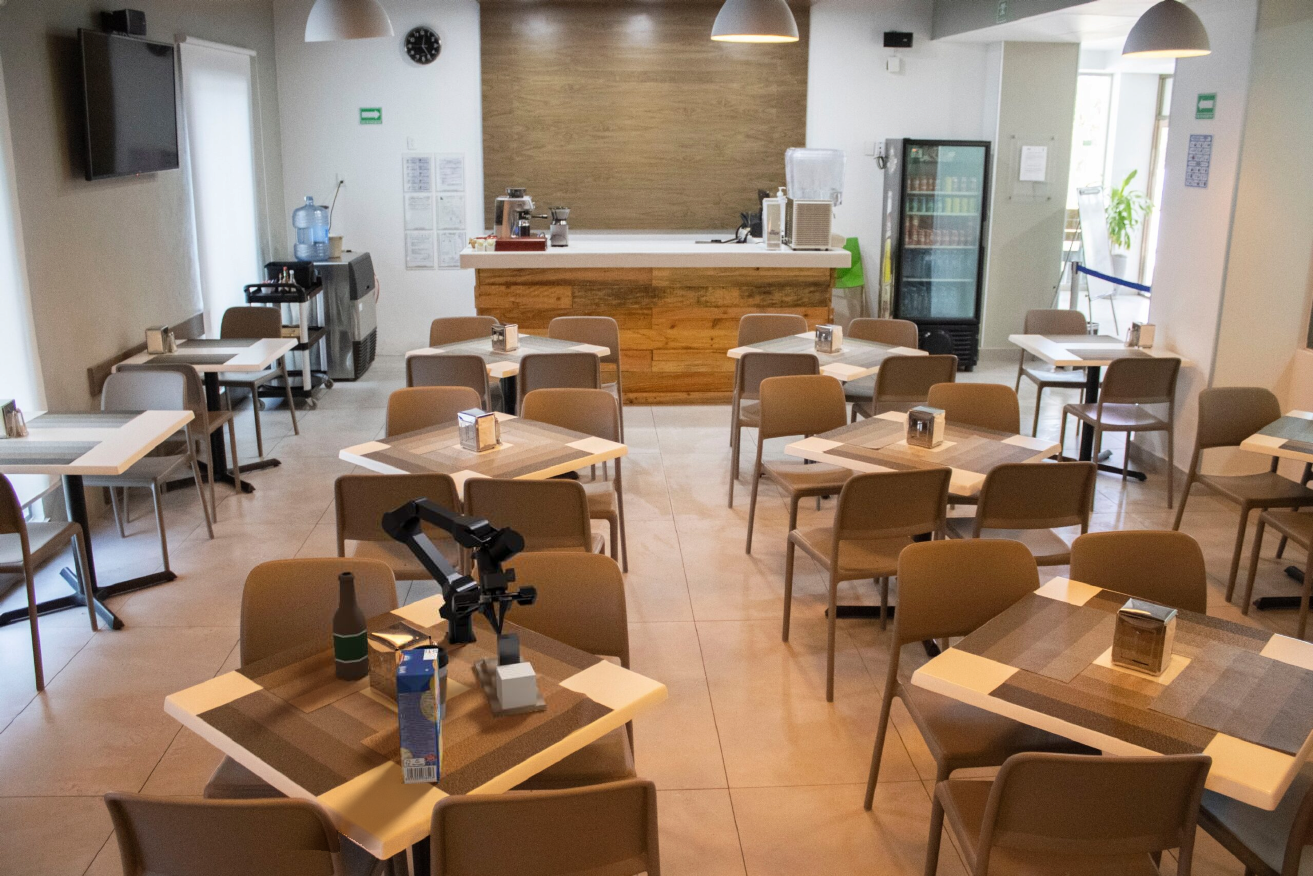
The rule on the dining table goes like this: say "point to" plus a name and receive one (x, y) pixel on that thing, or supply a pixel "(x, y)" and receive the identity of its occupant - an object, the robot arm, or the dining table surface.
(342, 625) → the beer bottle
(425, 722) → the beverage box
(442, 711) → the coffee cup
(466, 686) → the dining table surface
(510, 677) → the socket
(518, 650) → the dark grey rectangular block
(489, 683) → the rail
